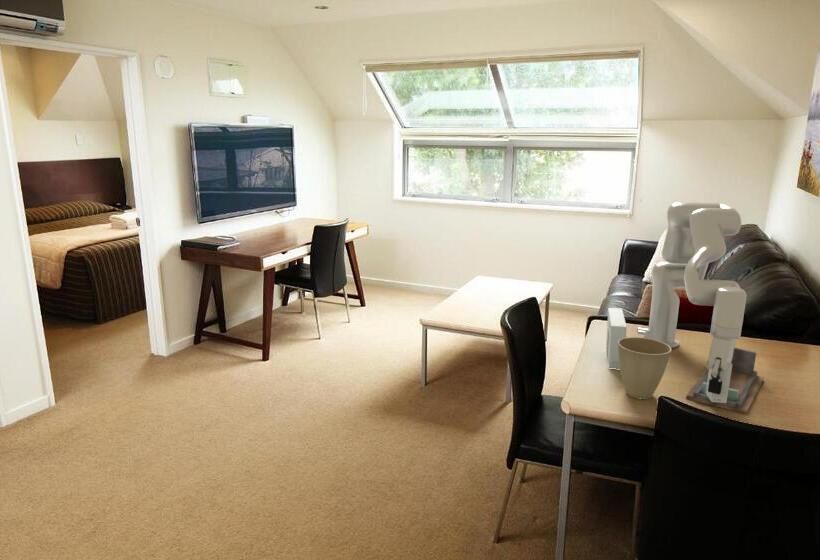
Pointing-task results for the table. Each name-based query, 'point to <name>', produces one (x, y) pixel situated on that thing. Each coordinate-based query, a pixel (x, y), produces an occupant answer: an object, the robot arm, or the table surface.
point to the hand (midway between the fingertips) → (717, 387)
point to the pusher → (731, 393)
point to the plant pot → (642, 365)
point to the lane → (734, 382)
